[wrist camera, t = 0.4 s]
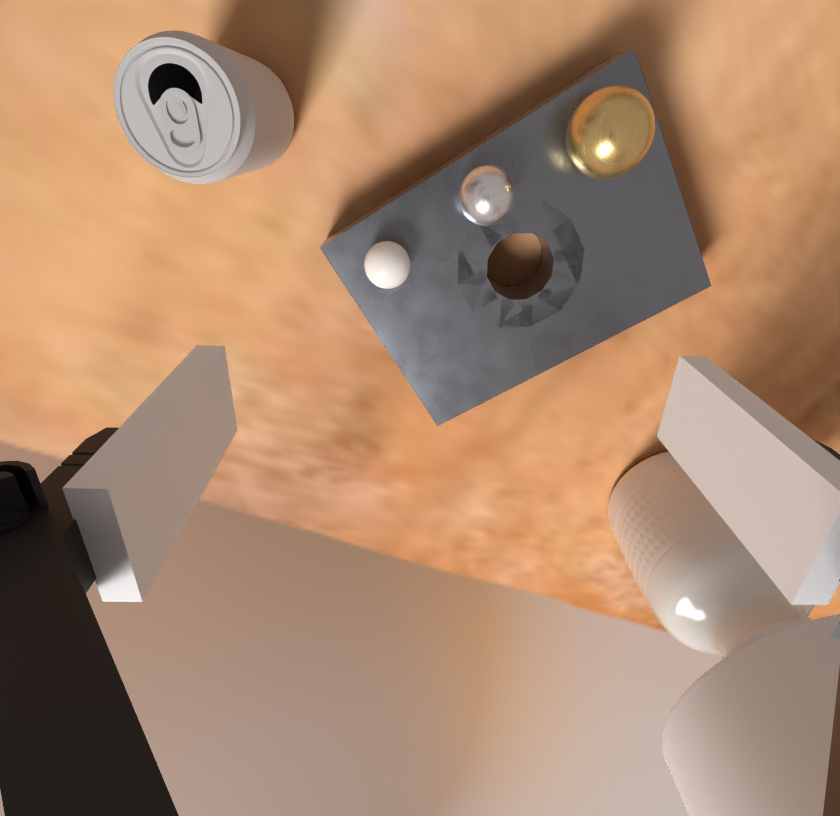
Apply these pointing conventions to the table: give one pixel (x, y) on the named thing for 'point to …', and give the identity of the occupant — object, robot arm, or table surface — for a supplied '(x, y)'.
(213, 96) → the beverage can
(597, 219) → the plate
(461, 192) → the steel ball
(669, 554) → the lamp
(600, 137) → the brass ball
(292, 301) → the table surface
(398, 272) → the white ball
